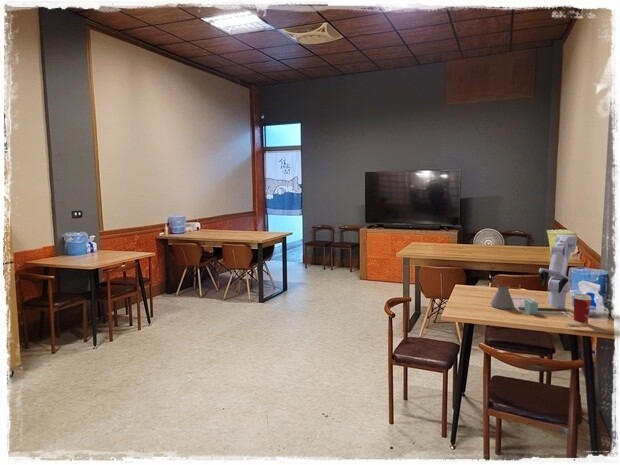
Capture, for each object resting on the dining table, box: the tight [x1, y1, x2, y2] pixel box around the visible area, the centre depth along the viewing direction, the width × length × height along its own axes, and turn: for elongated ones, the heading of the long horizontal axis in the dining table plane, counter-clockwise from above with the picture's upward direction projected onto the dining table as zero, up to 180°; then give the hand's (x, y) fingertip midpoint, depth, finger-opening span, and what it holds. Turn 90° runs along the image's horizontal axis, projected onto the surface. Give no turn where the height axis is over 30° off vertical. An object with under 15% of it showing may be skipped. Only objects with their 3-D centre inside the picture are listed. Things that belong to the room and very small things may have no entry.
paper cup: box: [572, 293, 593, 324], centre depth 208 cm, size 8×8×14 cm
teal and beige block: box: [524, 297, 539, 314], centre depth 221 cm, size 7×4×7 cm, turn 172°
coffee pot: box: [490, 276, 515, 310], centre depth 236 cm, size 21×12×15 cm, turn 178°
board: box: [517, 306, 574, 318], centre depth 220 cm, size 11×23×3 cm, turn 82°
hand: (551, 289), depth 214 cm, fingers open, 7 cm apart
